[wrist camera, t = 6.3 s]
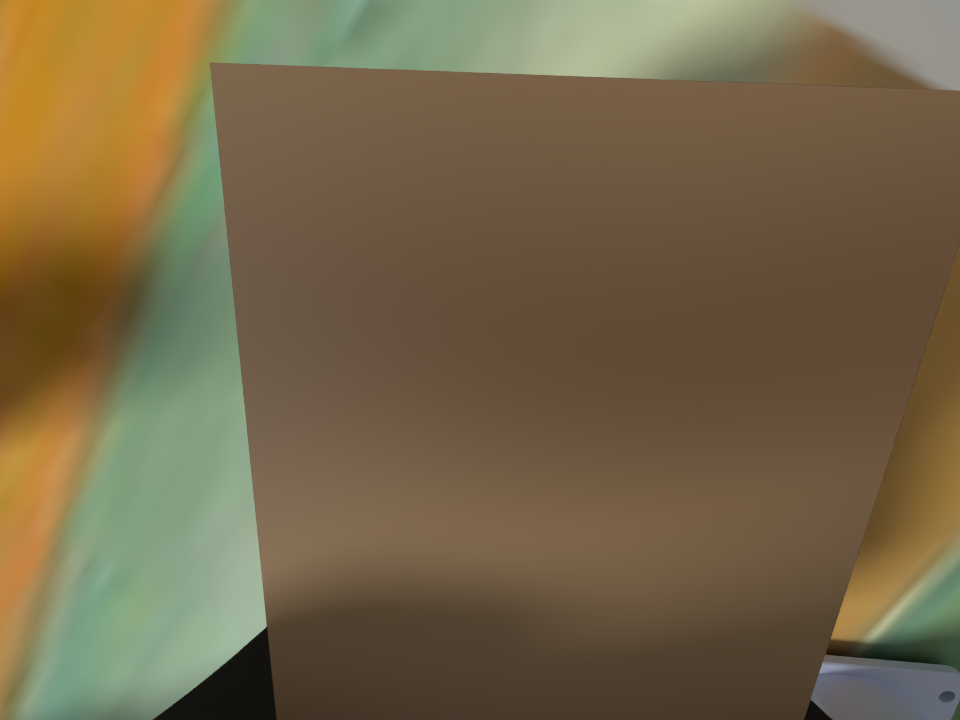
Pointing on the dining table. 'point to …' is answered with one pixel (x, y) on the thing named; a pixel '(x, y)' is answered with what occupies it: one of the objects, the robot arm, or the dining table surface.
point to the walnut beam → (571, 378)
